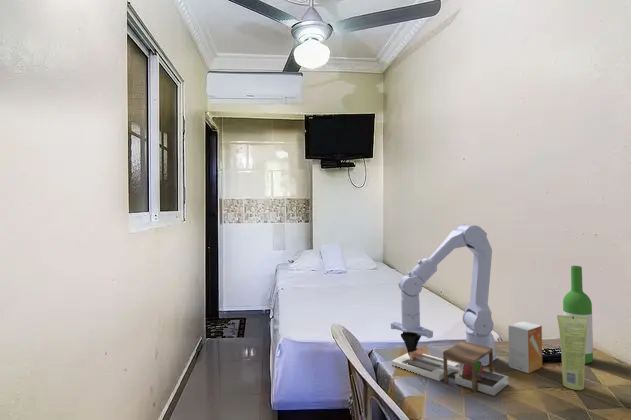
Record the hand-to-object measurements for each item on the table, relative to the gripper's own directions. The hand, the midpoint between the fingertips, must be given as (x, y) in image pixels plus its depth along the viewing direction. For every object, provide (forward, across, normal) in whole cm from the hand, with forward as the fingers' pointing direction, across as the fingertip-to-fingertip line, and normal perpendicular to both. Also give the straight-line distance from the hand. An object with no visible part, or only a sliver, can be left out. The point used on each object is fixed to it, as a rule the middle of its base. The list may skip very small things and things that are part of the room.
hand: (411, 355), depth 127 cm
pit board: (+2, +5, 0) cm, 5 cm away
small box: (+3, +27, +21) cm, 34 cm away
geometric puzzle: (+3, +20, 0) cm, 21 cm away
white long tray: (+2, +15, 0) cm, 15 cm away
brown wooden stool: (+2, +19, 0) cm, 19 cm away
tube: (+3, +41, +16) cm, 44 cm away
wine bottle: (+3, +37, +38) cm, 53 cm away
